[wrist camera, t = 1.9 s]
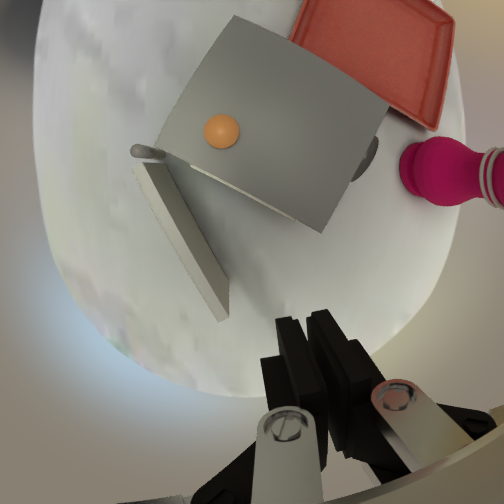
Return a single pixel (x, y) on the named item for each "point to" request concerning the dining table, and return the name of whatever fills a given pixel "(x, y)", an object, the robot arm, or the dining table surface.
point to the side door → (182, 230)
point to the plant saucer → (385, 49)
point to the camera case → (275, 123)
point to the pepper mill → (453, 172)
